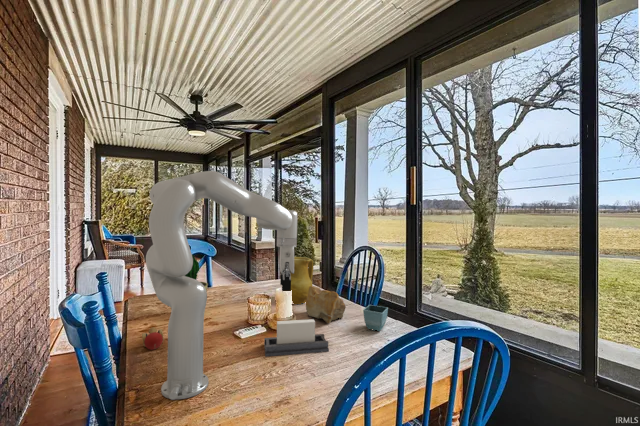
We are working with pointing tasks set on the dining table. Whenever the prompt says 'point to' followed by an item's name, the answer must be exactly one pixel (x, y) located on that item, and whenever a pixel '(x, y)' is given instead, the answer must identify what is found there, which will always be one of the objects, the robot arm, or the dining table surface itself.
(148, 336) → the kendama
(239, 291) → the dining table surface
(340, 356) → the dining table surface
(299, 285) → the pitcher
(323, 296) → the rough brown rock
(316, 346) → the floor track
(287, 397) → the dining table surface
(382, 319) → the flower pot
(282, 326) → the door panel
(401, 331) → the dining table surface
